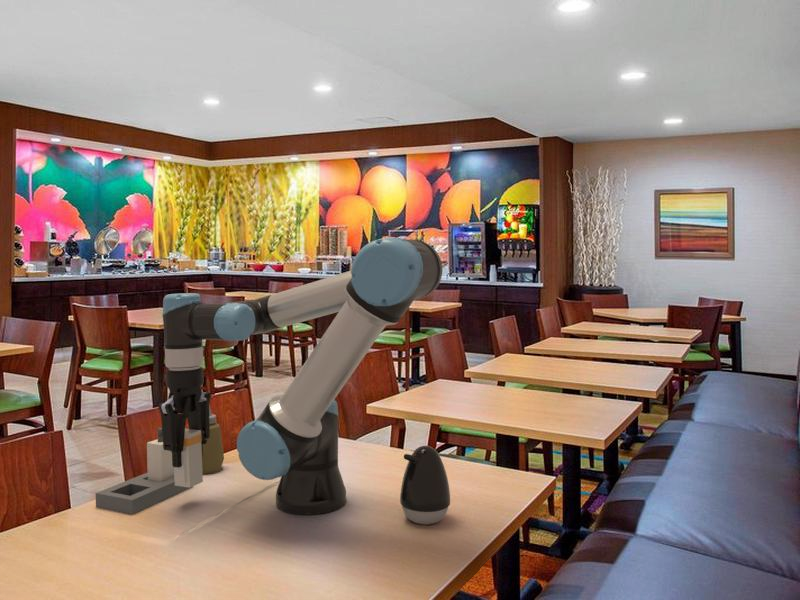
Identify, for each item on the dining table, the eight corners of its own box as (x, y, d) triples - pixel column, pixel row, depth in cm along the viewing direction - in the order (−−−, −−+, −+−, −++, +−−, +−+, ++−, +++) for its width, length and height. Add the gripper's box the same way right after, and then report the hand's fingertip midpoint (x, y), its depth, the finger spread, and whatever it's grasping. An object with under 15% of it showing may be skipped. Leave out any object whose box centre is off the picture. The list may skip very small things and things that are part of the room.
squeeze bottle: (214, 480, 160) (213, 405, 159) (183, 478, 161) (182, 404, 160) (229, 469, 168) (229, 398, 167) (200, 467, 169) (199, 397, 168)
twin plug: (174, 488, 151) (173, 427, 150) (161, 494, 148) (160, 431, 147) (160, 485, 153) (159, 425, 152) (147, 491, 149) (146, 429, 148)
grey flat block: (193, 491, 153) (192, 473, 152) (132, 519, 136) (132, 500, 136) (158, 484, 156) (158, 468, 156) (96, 511, 140) (95, 493, 140)
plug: (203, 481, 142) (201, 430, 142) (189, 487, 139) (187, 435, 138) (187, 479, 144) (185, 428, 143) (174, 485, 140) (172, 433, 140)
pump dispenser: (389, 517, 138) (389, 444, 137) (428, 506, 144) (429, 436, 143) (419, 534, 130) (420, 456, 129) (460, 521, 136) (461, 447, 135)
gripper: (197, 360, 149) (201, 464, 151) (139, 373, 134) (144, 488, 135) (225, 362, 146) (228, 468, 148) (169, 375, 131) (174, 493, 132)
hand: (188, 477), depth 141 cm, fingers closed on plug, 4 cm apart
